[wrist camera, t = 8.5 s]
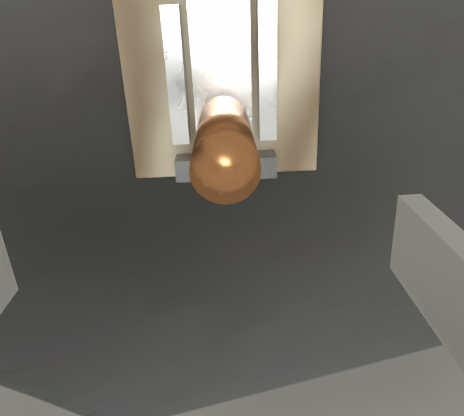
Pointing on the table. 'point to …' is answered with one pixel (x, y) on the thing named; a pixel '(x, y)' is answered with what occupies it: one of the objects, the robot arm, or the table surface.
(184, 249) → the table surface
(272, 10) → the rails
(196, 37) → the ram
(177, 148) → the board
